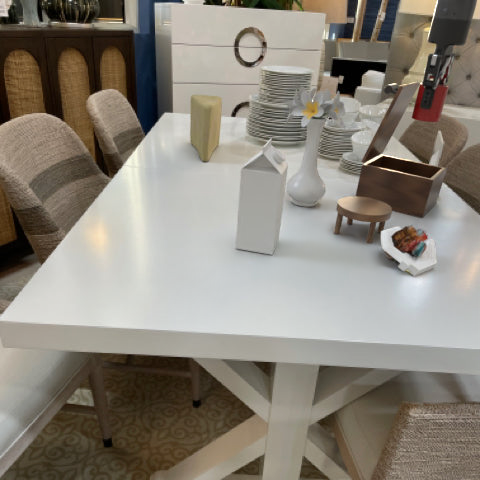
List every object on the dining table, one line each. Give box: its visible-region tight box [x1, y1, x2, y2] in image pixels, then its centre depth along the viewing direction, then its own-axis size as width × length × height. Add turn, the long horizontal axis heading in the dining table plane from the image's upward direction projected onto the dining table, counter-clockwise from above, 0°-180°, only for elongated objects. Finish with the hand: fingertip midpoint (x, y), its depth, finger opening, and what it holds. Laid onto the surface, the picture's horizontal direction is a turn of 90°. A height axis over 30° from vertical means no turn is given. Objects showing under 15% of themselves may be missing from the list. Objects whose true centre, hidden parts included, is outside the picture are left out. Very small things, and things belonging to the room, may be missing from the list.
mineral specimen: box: [380, 224, 438, 277], centre depth 88 cm, size 12×12×7 cm
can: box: [411, 82, 450, 123], centre depth 104 cm, size 6×6×7 cm
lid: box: [361, 81, 421, 164], centre depth 112 cm, size 18×14×5 cm
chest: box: [355, 153, 448, 219], centre depth 116 cm, size 17×14×9 cm
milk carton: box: [235, 138, 289, 256], centre depth 85 cm, size 7×7×19 cm
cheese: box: [189, 94, 223, 163], centre depth 141 cm, size 22×10×15 cm, turn 4°
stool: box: [333, 195, 393, 245], centre depth 98 cm, size 11×11×6 cm
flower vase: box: [284, 86, 346, 208], centre depth 107 cm, size 13×18×25 cm
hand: (428, 106), depth 104 cm, fingers closed on can, 6 cm apart
